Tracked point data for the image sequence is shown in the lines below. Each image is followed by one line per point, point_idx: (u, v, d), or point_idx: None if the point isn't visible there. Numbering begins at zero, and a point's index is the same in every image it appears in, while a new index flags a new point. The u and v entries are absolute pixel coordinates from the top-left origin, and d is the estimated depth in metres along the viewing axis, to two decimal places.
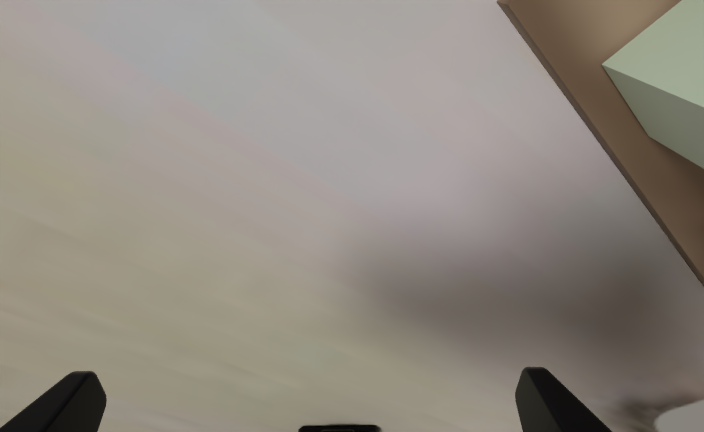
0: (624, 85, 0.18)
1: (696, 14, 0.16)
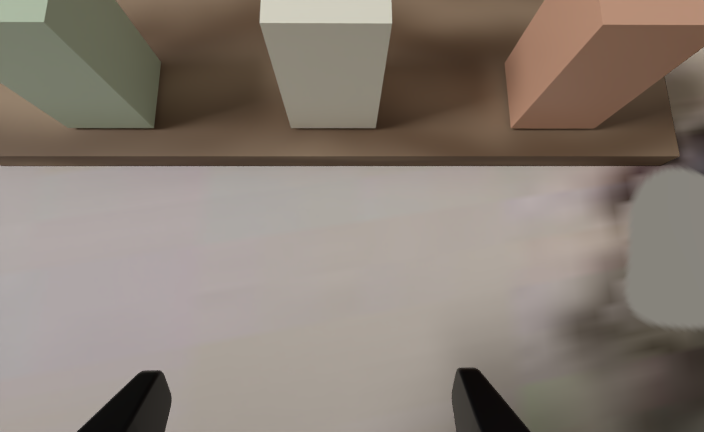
0: (72, 119, 0.22)
1: None
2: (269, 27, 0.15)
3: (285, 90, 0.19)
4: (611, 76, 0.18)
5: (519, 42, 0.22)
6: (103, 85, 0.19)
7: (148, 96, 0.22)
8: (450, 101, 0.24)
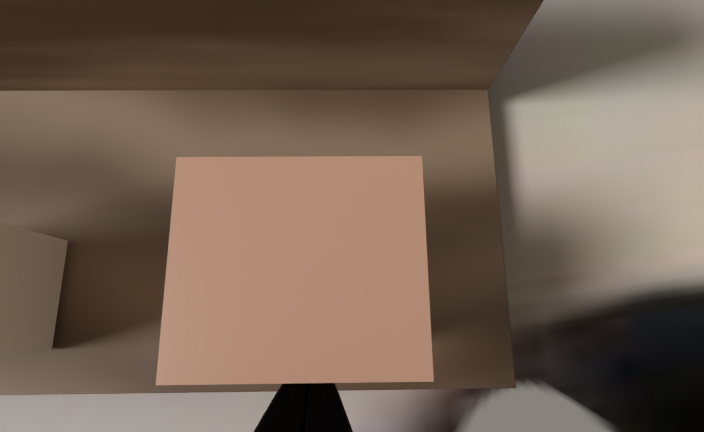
0: None
1: None
2: None
3: None
4: None
5: None
6: None
7: None
8: None
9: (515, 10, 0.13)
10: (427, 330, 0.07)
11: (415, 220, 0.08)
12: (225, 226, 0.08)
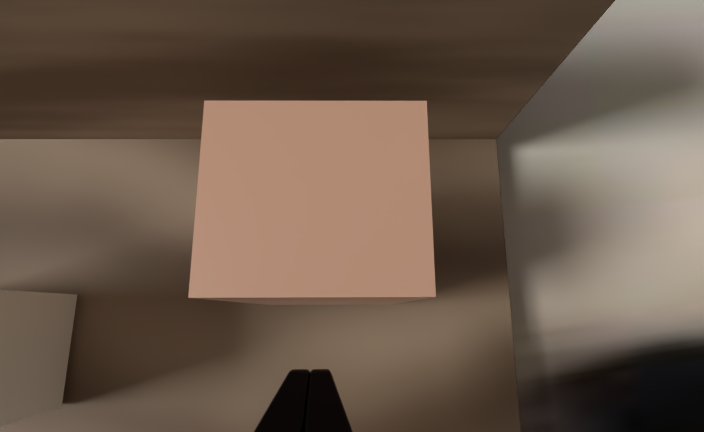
0: None
1: None
2: None
3: None
4: (322, 301, 0.11)
5: None
6: None
7: None
8: (187, 354, 0.16)
9: (526, 78, 0.13)
10: (430, 253, 0.08)
11: (421, 157, 0.08)
12: (249, 161, 0.08)
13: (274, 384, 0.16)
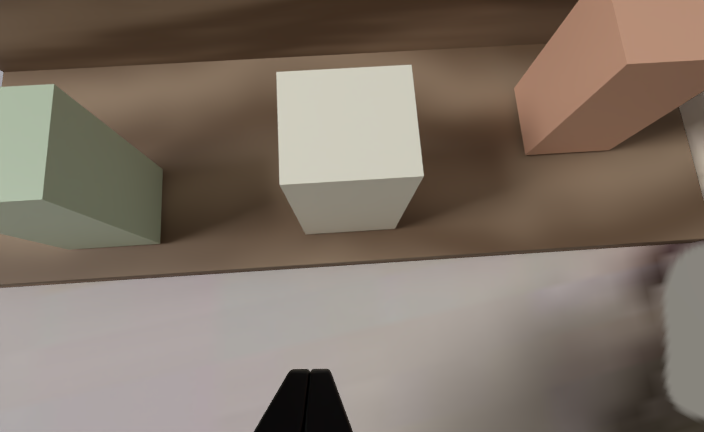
0: (73, 245, 0.20)
1: None
2: (290, 186, 0.14)
3: (302, 216, 0.18)
4: (630, 106, 0.18)
5: (530, 69, 0.22)
6: (107, 226, 0.17)
7: (152, 213, 0.21)
8: (470, 192, 0.23)
9: None
10: None
11: None
12: None
13: (535, 208, 0.22)
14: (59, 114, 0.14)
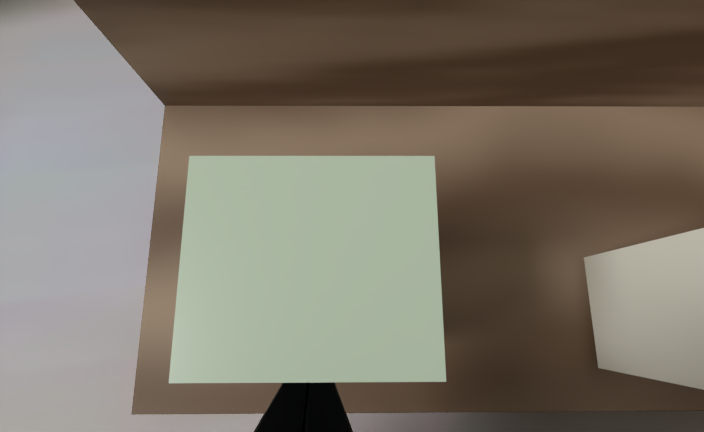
0: None
1: None
2: None
3: None
4: None
5: None
6: None
7: None
8: None
9: None
10: None
11: None
12: None
13: None
14: None
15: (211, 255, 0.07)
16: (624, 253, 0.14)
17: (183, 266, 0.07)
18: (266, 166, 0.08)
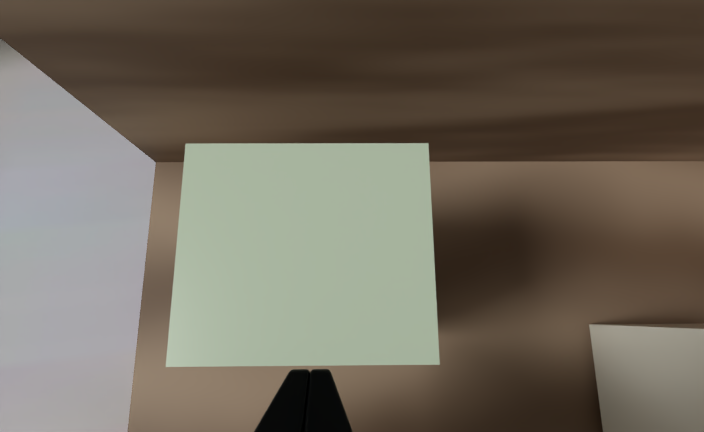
0: None
1: None
2: None
3: None
4: None
5: None
6: None
7: None
8: None
9: None
10: None
11: None
12: None
13: None
14: None
15: (207, 241, 0.08)
16: (632, 332, 0.13)
17: (180, 252, 0.07)
18: (261, 153, 0.08)
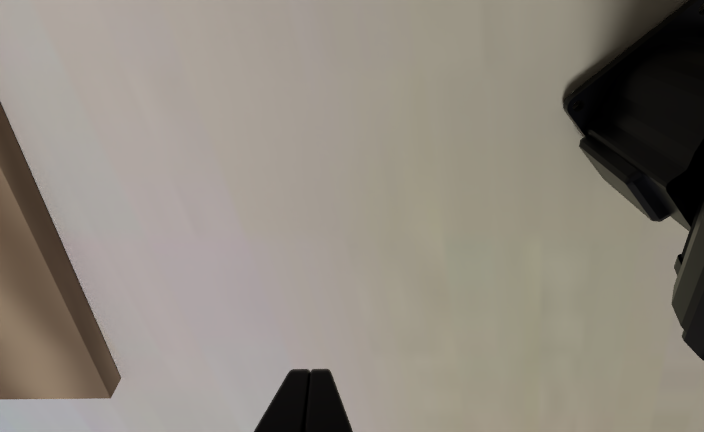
0: None
1: None
2: None
3: None
4: None
5: None
6: None
7: None
8: None
9: None
10: None
11: None
12: None
13: None
14: None
15: None
16: None
17: None
18: None
